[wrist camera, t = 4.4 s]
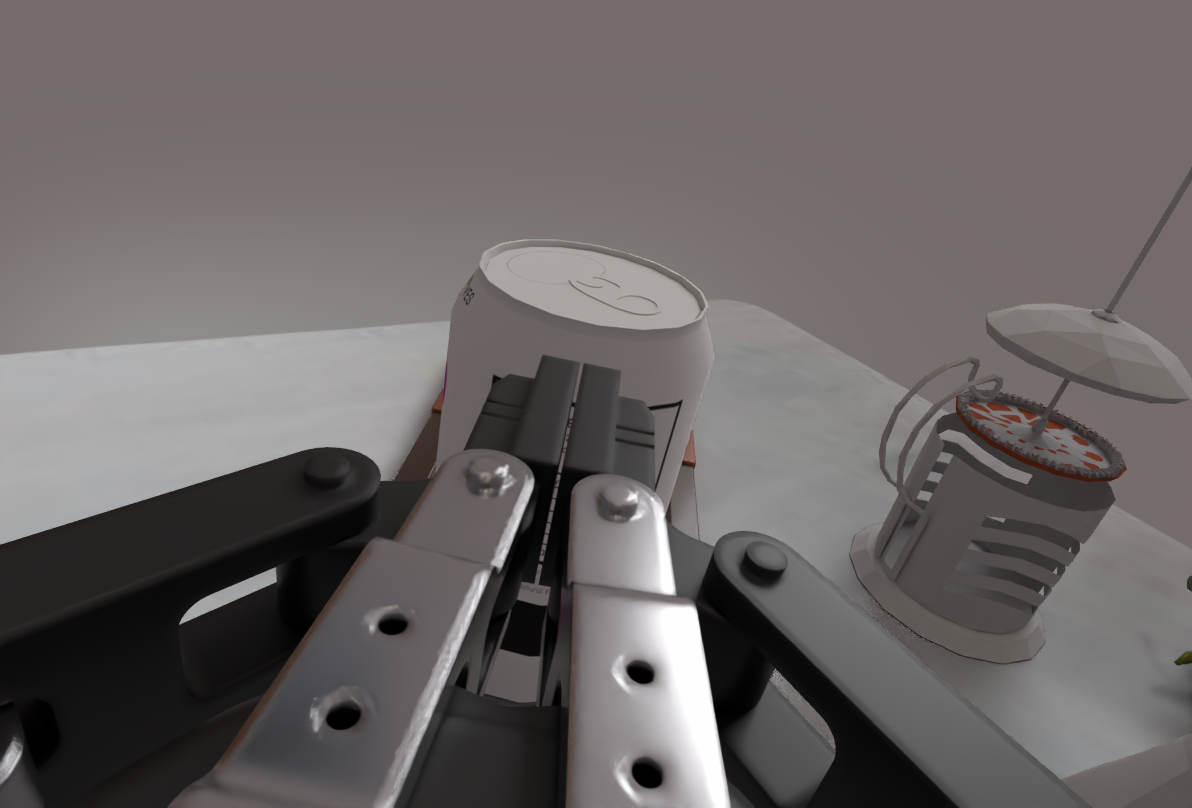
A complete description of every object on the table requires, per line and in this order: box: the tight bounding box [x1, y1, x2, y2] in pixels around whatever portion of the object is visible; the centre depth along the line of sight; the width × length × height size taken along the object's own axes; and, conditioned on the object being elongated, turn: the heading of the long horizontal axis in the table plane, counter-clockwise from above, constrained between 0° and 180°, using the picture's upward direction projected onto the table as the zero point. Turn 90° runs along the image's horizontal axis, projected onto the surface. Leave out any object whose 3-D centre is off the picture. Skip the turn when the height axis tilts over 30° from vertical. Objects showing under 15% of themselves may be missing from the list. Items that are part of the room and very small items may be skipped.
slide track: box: [394, 388, 700, 541], centre depth 35 cm, size 15×28×1 cm, turn 176°
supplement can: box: [435, 239, 715, 703], centre depth 25 cm, size 8×8×15 cm
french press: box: [850, 168, 1192, 664], centre depth 30 cm, size 10×12×25 cm
